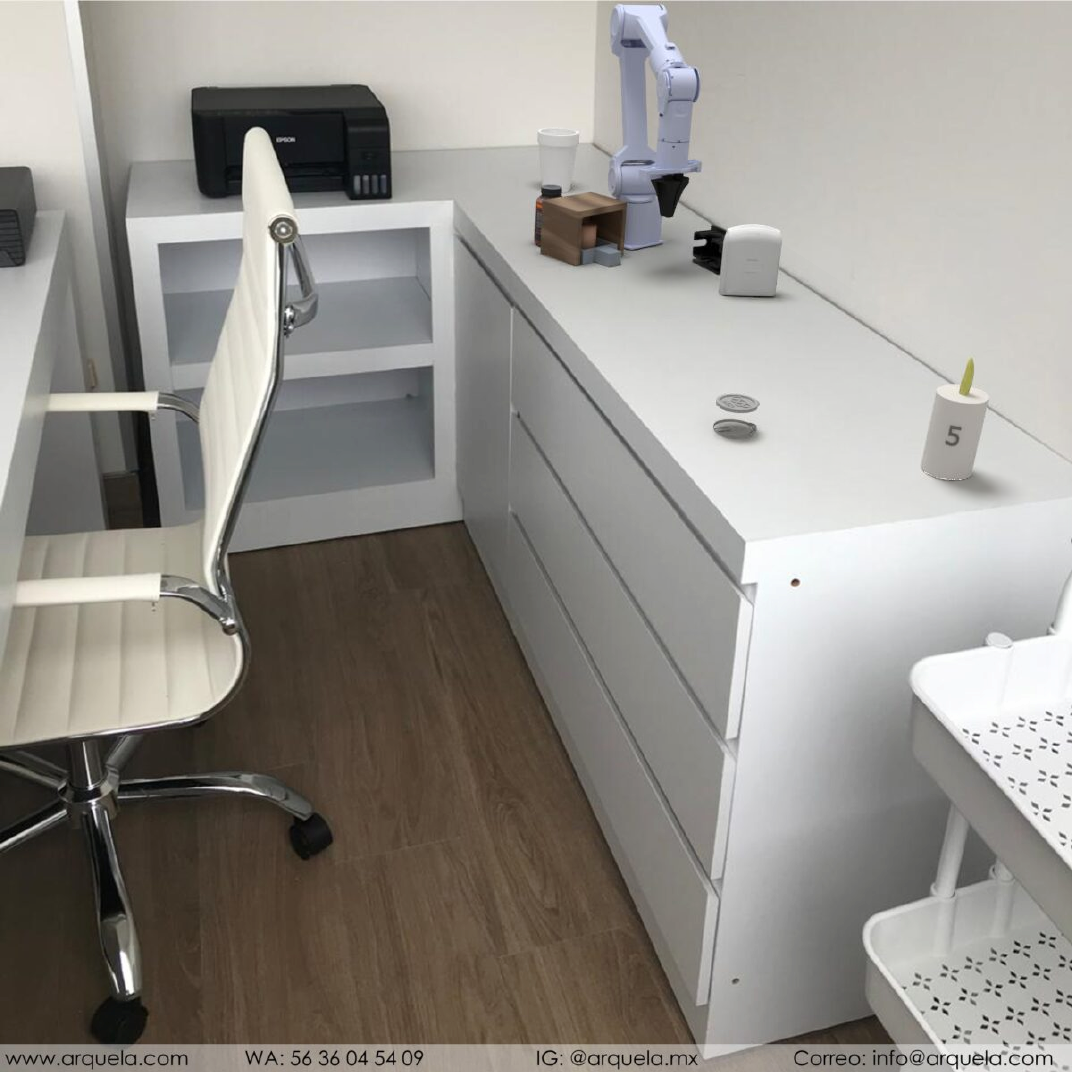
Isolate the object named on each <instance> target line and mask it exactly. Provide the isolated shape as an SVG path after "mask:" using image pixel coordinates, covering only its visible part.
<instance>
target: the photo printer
mask: <svg viewBox="0 0 1072 1072" xmlns="http://www.w3.org/2000/svg"><path fill="white" fill-rule="evenodd" d="M726 230H727V231H726V235H725V237H724V242H723V251H722V261H721V272H720V275H719V284H718V293H719V294H720V295H721V296H722V295H723V296H751V297H755V296H756V297H759V296H760V297H774V296H775V295H776V293H777V291H776V290H777V284H778V276H779V268H780V261H781V260H780V259H781V252H782V244H783V243H782V241H783V240H782V234H781V231H780V230H779V229H778V228H775V227H772V226H768V225H764V224H756V223H752V224H750V223H749V224H739V225H735V226H732V227H729V228H727V229H726Z"/></svg>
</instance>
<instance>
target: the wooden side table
mask: <svg viewBox="0 0 1072 1072" xmlns="http://www.w3.org/2000/svg"><path fill="white" fill-rule="evenodd" d="M626 214H627V202H625V201H621V200H618V199H616V198H615V197H610V196H607V195H603V194H601V193H597V192H593V191H588V192H582V193H577V194H570V195H565V196H562V197H559V198H553V199H548V200H542V224H541V246H540V251H539V252H540V254H541V255H544V256H546V257H549V258H552V259H555V260H558V261H561V262H564V263H566V264H569V265H572V266H574V267H577V266H580V247H581V229H582V223H592V224H595V225H596V226H597V228H596V237H597V238H601V239H604V240H607V241H610V242H613V243H616V244H618V246H617V250H619V251H621V256H624V255H625V254H624V253H625V252H624V251H625V248H624V241H625V227H626Z"/></svg>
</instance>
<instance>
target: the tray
mask: <svg viewBox="0 0 1072 1072" xmlns="http://www.w3.org/2000/svg"><path fill="white" fill-rule="evenodd" d="M617 246H618V244H616V243H613V242H610V241H607V240H604V239H601V238H597V237H596V244H595V248H590V249H586V250H583V249H580V264H581V265H587V264H592V263H597V264H599V265H602V266H605V267H608V268H611V267H617V266H620V265H621V264H622V263H621V260H622V255H621V251H619V250H617Z"/></svg>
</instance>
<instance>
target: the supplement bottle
mask: <svg viewBox="0 0 1072 1072" xmlns="http://www.w3.org/2000/svg"><path fill="white" fill-rule="evenodd" d="M540 189H541V190H540V193H541V195H539V196H538V197H537V198H536V200H535V210H534V211H535V212H534V213H535V214H534V216H535V217H534V219H535V220H534V236H533V237H534V243H535V244H536V245H537V246H540V247H541V224H542V200H548V199H553V198H559V197H563V196H562V194H563V193H562V187H561V186H559V185H543V186H542V185H541V188H540Z"/></svg>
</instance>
